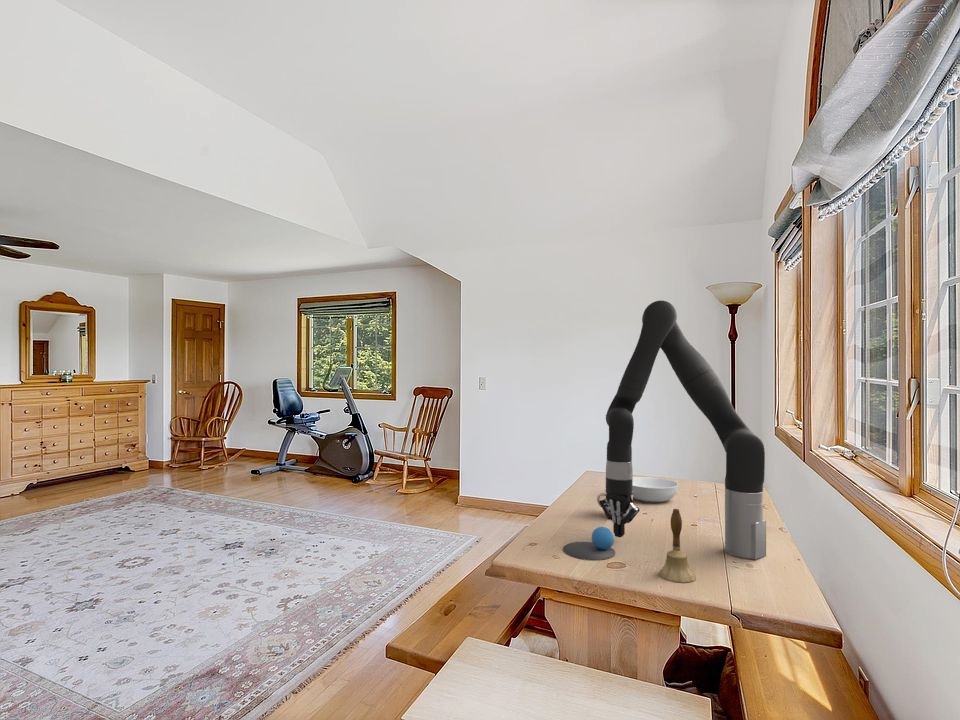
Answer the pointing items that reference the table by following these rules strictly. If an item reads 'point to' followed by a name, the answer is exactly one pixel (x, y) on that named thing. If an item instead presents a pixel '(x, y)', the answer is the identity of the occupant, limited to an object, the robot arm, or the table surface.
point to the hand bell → (676, 556)
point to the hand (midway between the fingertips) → (618, 536)
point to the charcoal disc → (587, 551)
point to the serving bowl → (654, 489)
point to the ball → (602, 538)
